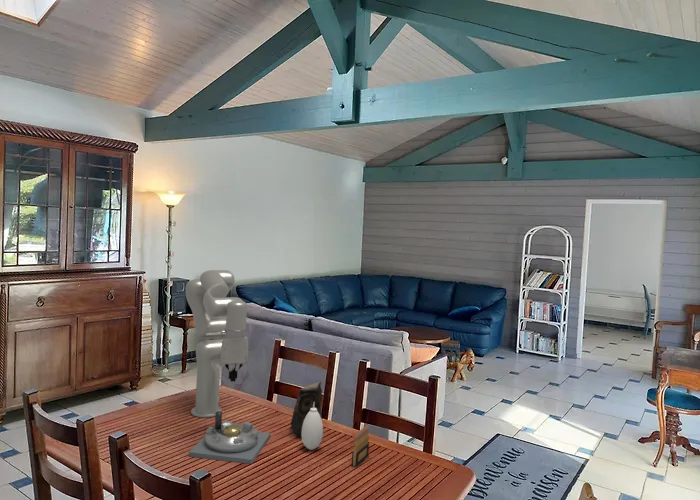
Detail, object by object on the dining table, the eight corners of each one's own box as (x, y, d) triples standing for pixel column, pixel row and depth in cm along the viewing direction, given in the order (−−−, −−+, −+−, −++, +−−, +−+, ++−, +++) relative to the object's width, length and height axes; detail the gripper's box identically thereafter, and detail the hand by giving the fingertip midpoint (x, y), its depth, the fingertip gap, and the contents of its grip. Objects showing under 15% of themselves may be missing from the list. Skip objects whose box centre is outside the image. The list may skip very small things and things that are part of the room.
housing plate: (214, 430, 199) (214, 426, 199) (270, 437, 196) (270, 432, 196) (188, 456, 176) (188, 451, 176) (251, 463, 173) (251, 459, 173)
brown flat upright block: (355, 467, 175) (358, 433, 175) (351, 466, 176) (353, 432, 176) (368, 456, 185) (370, 424, 184) (364, 454, 186) (366, 422, 185)
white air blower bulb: (309, 442, 193) (312, 396, 193) (325, 448, 189) (328, 401, 188) (296, 449, 187) (299, 401, 186) (312, 455, 182) (315, 406, 182)
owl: (320, 427, 209) (323, 379, 208) (323, 439, 196) (326, 389, 196) (290, 426, 207) (293, 379, 206) (290, 439, 195) (293, 389, 194)
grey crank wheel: (268, 440, 189) (269, 416, 189) (231, 458, 173) (233, 432, 172) (232, 426, 199) (233, 404, 199) (194, 442, 183) (195, 418, 182)
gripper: (216, 336, 185) (213, 384, 186) (256, 335, 191) (253, 382, 192) (214, 331, 192) (211, 378, 193) (253, 330, 198) (250, 376, 199)
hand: (232, 380), depth 192 cm, fingers closed
